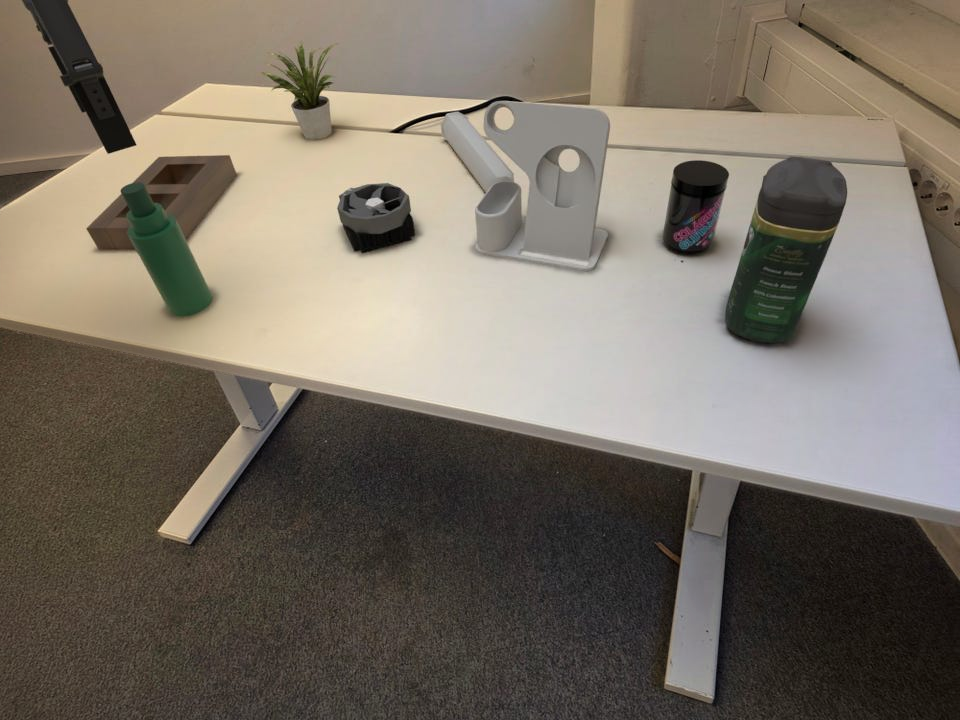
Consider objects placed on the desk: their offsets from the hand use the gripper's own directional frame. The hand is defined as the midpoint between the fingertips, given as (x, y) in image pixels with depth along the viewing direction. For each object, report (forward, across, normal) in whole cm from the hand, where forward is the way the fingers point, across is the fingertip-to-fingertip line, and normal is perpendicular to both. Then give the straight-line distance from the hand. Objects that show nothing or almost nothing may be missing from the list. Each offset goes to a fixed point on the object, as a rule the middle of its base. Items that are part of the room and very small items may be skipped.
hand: (107, 127), depth 63 cm
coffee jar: (+24, -47, -53) cm, 75 cm away
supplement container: (+24, -31, -59) cm, 71 cm away
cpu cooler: (+24, 0, -27) cm, 37 cm away
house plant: (+24, +40, -36) cm, 59 cm away
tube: (+24, +7, -50) cm, 56 cm away
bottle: (+24, +1, 0) cm, 24 cm away
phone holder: (+24, -18, -44) cm, 53 cm away
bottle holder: (+24, +29, -5) cm, 38 cm away
